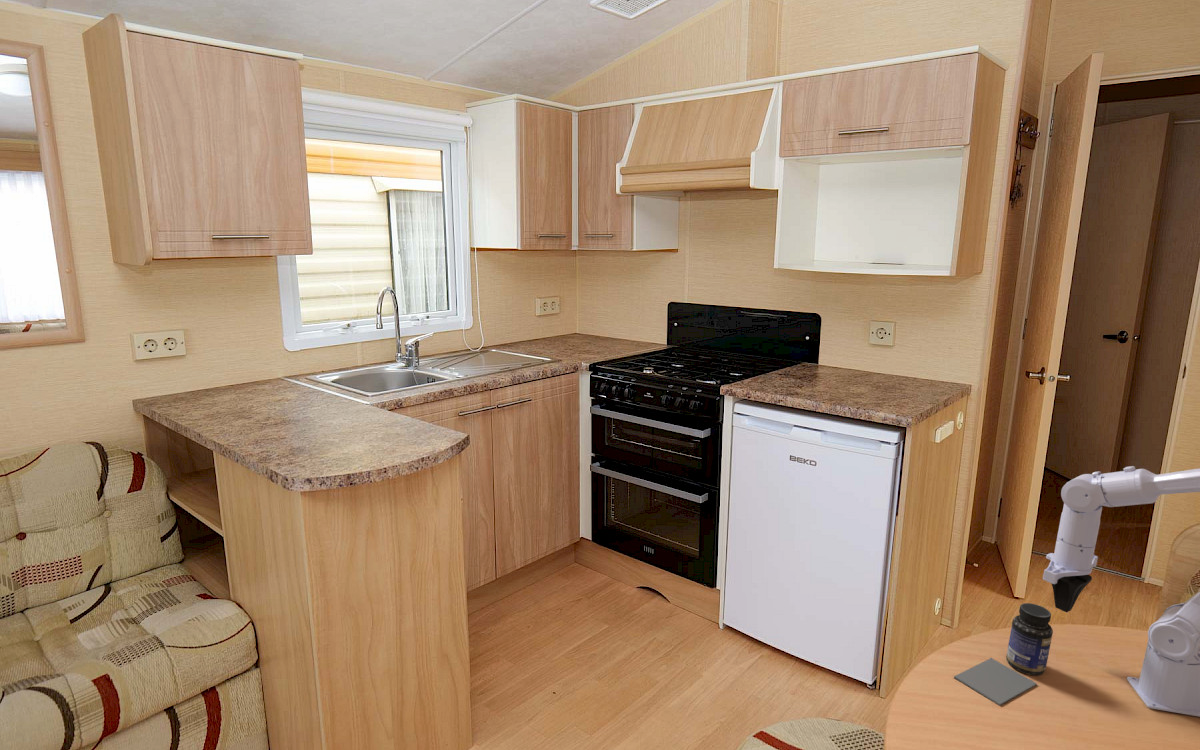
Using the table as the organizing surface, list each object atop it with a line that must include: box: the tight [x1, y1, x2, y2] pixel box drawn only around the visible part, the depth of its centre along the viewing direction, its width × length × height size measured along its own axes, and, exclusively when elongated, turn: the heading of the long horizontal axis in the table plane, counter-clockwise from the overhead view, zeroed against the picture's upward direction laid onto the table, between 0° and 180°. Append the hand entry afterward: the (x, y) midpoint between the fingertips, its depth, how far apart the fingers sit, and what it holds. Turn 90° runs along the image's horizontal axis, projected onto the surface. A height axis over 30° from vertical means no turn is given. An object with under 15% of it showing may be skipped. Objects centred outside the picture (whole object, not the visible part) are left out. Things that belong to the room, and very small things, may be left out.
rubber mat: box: [953, 657, 1038, 707], centre depth 120 cm, size 11×8×1 cm
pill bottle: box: [1005, 602, 1054, 676], centre depth 123 cm, size 6×6×11 cm
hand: (1062, 608), depth 127 cm, fingers closed
